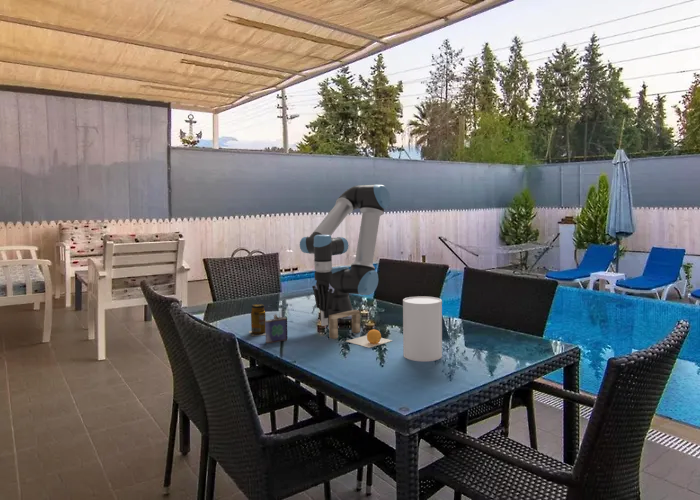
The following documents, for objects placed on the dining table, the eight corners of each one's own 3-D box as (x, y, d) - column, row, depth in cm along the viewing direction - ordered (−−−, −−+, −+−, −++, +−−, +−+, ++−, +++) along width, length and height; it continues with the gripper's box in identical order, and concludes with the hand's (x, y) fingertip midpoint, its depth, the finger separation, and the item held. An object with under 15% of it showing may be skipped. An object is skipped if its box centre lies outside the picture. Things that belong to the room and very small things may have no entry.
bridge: (329, 337, 211) (328, 315, 210) (355, 330, 221) (354, 309, 220) (334, 338, 209) (333, 316, 208) (360, 332, 219) (359, 310, 218)
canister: (415, 363, 176) (415, 305, 174) (396, 353, 189) (396, 298, 187) (449, 358, 182) (449, 301, 180) (428, 348, 194) (428, 295, 192)
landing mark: (369, 335, 214) (368, 334, 214) (392, 341, 204) (392, 340, 204) (345, 341, 205) (345, 340, 205) (368, 347, 196) (368, 347, 196)
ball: (377, 344, 204) (371, 330, 205) (386, 339, 200) (380, 326, 202) (367, 347, 200) (362, 333, 202) (376, 342, 196) (370, 329, 198)
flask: (267, 343, 204) (266, 316, 203) (264, 342, 207) (263, 315, 206) (288, 340, 209) (288, 313, 208) (285, 338, 211) (285, 312, 210)
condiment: (265, 330, 226) (264, 302, 225) (269, 334, 218) (268, 306, 217) (248, 331, 223) (247, 304, 222) (251, 336, 215) (250, 308, 214)
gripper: (306, 270, 224) (308, 324, 227) (326, 273, 215) (327, 329, 217) (320, 268, 229) (321, 321, 232) (340, 271, 220) (341, 326, 222)
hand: (324, 325), depth 224 cm, fingers closed
